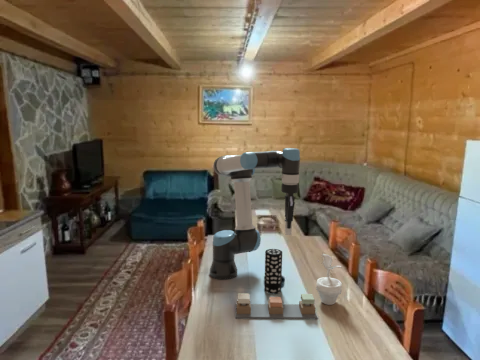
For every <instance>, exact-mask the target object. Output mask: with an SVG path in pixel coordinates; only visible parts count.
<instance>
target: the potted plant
mask: <svg viewBox="0 0 480 360" xmlns="http://www.w3.org/2000/svg"><path fill="white" fill-rule="evenodd" d="M320 255H321V258H322V260H323V261H322V262H321V266H323V267H324V269H326V276H324V277H319V278H317V280H316V287H315V289H316V292H318V295H319V298H320V301H321V303H322V304H325V305H329V306H331V305H334V304H336V302H337V300H338V297H339V295H341V294H342V290H343V289H342V288H343V283H342V282H341V280H340V279H337V278H335V277H331V270H334V269H335V268H338V269H339V268H341V269H342V266H341V265H333V266H332V264H333V257H332V256H330V255H329V254H326V253H324V252H323V251H322V253H321V254H320ZM316 261H317V263H319V262H320V260H319V259H317V260H316Z"/></svg>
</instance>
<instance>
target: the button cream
mask: <svg viewBox="0 0 480 360" xmlns="http://www.w3.org/2000/svg"><path fill="white" fill-rule="evenodd" d="M237 301H238V303H242V306H246V303H250V304H251V298H250V293H237Z"/></svg>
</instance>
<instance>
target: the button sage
mask: <svg viewBox="0 0 480 360" xmlns="http://www.w3.org/2000/svg"><path fill="white" fill-rule="evenodd" d="M300 301H302V303H303V304H305V306H310V304H314V305H315V297H314V294H312V293H300Z"/></svg>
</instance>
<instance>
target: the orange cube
mask: <svg viewBox="0 0 480 360" xmlns="http://www.w3.org/2000/svg"><path fill="white" fill-rule="evenodd" d="M268 301H269V302H270V307H282V304H283V300H282V297H281V296H269V299H268Z"/></svg>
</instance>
